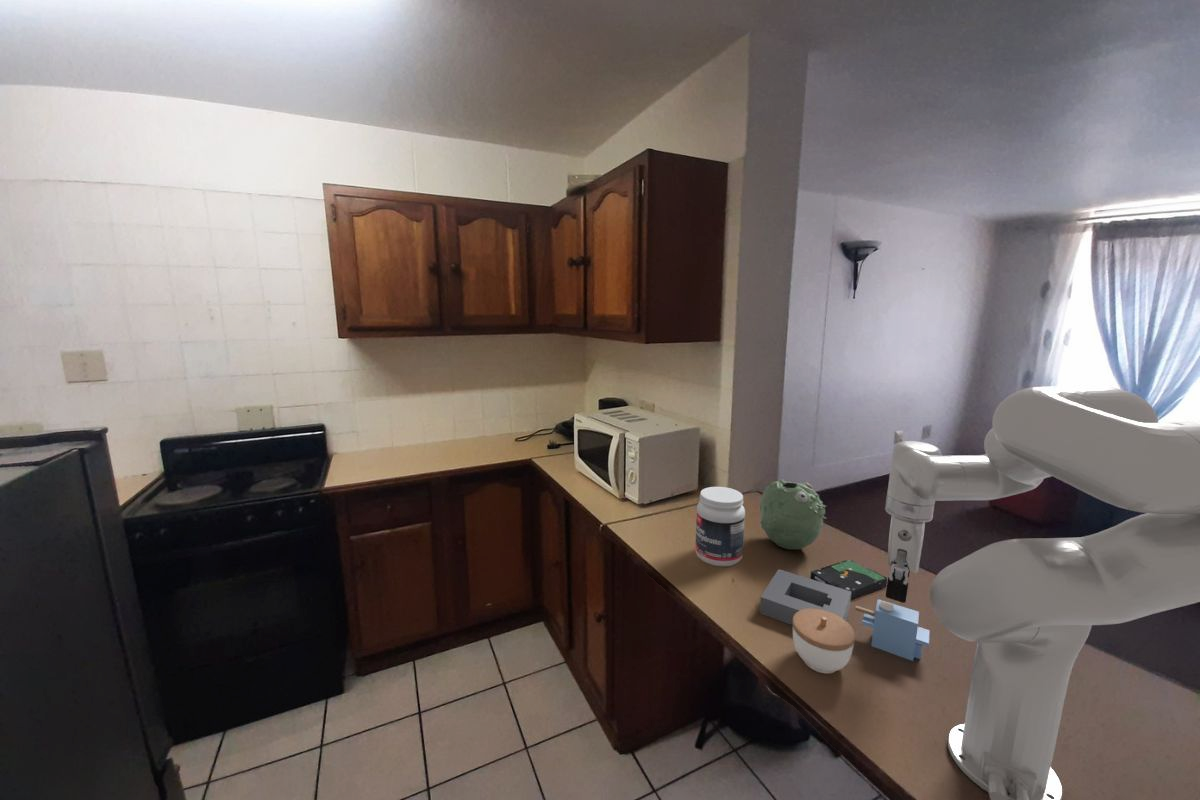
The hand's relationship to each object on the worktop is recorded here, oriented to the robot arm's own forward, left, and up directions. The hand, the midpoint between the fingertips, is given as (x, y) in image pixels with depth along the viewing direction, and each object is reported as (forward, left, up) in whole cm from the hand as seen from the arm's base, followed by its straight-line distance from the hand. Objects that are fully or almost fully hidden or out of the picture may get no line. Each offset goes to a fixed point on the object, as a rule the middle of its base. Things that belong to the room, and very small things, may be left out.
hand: (897, 586), depth 90 cm
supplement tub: (+12, +42, -13) cm, 45 cm away
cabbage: (+29, +28, -13) cm, 42 cm away
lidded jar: (-13, +11, -13) cm, 22 cm away
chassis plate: (+1, +17, -13) cm, 21 cm away
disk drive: (+19, +11, -14) cm, 26 cm away
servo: (-1, 0, -13) cm, 13 cm away
